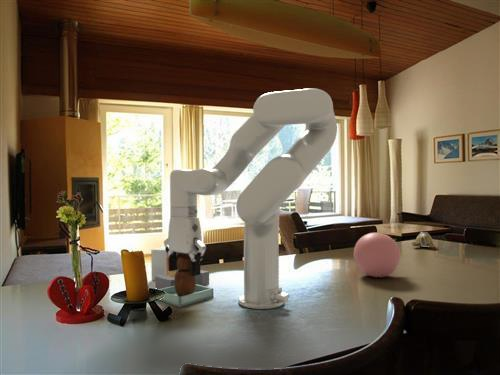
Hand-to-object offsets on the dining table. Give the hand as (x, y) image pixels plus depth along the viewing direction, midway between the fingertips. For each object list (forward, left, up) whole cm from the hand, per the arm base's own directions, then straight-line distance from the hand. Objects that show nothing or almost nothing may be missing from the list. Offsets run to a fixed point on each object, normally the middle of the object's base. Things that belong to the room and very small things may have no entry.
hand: (184, 272), depth 114 cm
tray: (0, 0, -7) cm, 7 cm away
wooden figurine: (0, 0, -7) cm, 7 cm away
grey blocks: (+10, -8, -7) cm, 15 cm away
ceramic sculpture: (-23, -135, -8) cm, 137 cm away
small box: (+24, -11, -8) cm, 28 cm away
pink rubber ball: (-32, -62, -7) cm, 70 cm away
